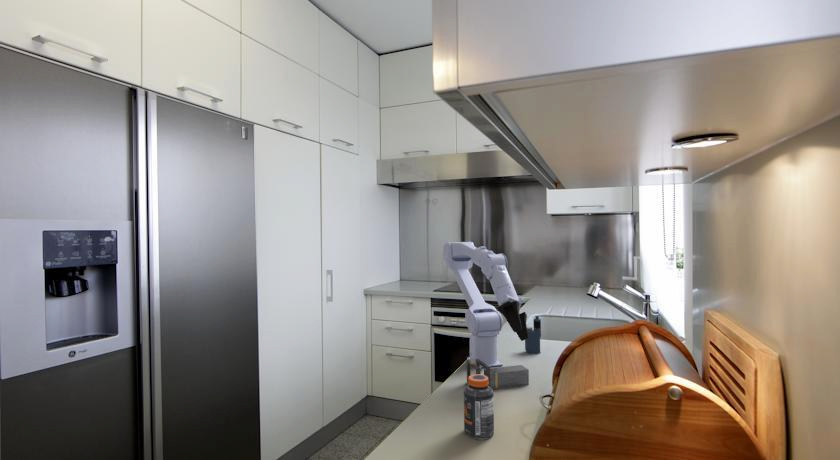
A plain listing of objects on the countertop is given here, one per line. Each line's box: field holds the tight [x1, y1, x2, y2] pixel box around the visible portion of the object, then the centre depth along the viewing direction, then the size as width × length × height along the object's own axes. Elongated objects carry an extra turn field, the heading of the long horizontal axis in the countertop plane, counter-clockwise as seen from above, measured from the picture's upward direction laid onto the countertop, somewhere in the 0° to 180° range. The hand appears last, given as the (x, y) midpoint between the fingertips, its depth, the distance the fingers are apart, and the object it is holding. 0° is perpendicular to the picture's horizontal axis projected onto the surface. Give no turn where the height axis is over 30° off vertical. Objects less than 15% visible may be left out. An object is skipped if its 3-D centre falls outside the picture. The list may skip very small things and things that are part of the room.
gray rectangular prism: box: [483, 364, 530, 390], centre depth 112 cm, size 4×11×4 cm, turn 106°
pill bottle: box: [463, 373, 495, 440], centre depth 85 cm, size 6×6×11 cm
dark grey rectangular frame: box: [466, 359, 482, 385], centre depth 109 cm, size 7×1×7 cm, turn 16°
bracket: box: [476, 359, 491, 387], centre depth 110 cm, size 7×1×6 cm, turn 16°
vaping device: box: [524, 315, 542, 354], centre depth 141 cm, size 3×5×12 cm, turn 78°
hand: (521, 335), depth 111 cm, fingers open, 7 cm apart
